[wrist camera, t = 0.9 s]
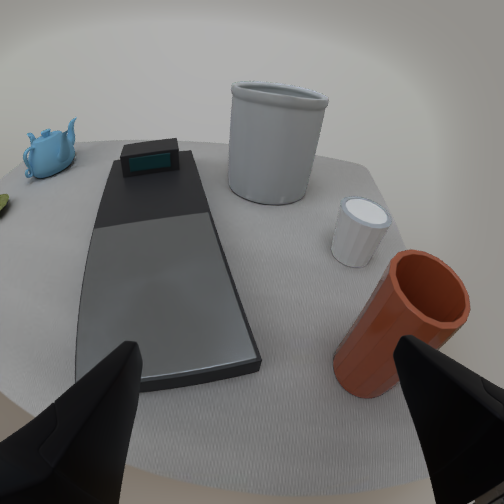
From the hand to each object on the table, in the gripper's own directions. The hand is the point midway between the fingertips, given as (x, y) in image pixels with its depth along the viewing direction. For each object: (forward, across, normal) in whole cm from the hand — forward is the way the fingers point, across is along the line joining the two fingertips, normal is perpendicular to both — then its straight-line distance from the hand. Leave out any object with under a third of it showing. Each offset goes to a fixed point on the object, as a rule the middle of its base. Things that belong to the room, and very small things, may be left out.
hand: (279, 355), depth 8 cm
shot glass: (+25, -15, +8) cm, 30 cm away
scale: (+28, +12, +6) cm, 32 cm away
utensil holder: (+42, -5, +2) cm, 42 cm away
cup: (+10, -12, +12) cm, 20 cm away
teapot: (+53, +45, -1) cm, 70 cm away
